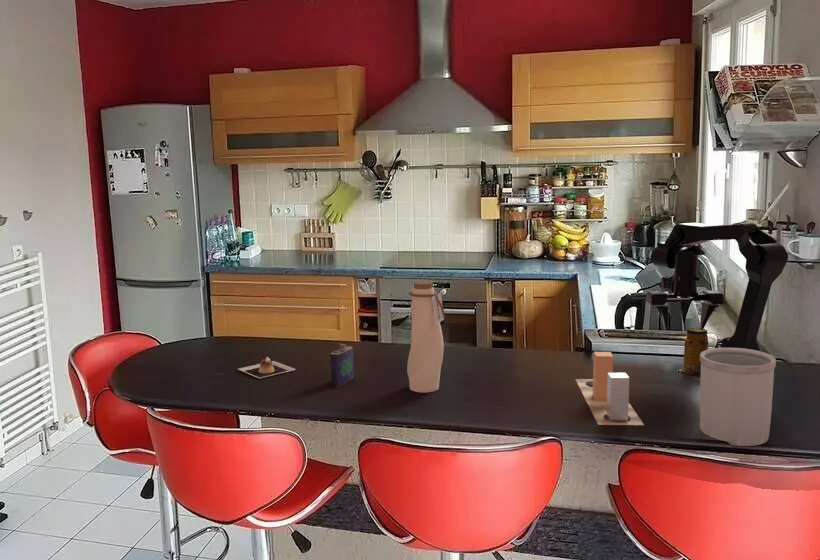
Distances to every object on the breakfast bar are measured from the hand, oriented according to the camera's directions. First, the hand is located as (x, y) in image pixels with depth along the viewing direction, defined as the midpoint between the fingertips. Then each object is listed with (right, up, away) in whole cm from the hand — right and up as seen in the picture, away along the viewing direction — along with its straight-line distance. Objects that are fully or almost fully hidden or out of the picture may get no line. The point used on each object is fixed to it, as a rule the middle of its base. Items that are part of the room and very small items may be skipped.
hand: (683, 329), depth 196 cm
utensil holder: (-3, -20, -36) cm, 41 cm away
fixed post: (-25, -18, -27) cm, 41 cm away
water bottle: (-68, -15, -2) cm, 69 cm away
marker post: (-25, -16, -13) cm, 32 cm away
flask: (-90, -15, +4) cm, 91 cm away
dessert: (-113, -13, +16) cm, 115 cm away
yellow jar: (+7, -13, +8) cm, 17 cm away
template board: (-24, -17, -15) cm, 33 cm away
